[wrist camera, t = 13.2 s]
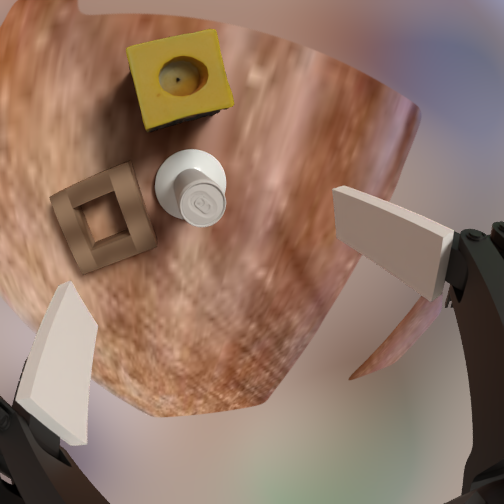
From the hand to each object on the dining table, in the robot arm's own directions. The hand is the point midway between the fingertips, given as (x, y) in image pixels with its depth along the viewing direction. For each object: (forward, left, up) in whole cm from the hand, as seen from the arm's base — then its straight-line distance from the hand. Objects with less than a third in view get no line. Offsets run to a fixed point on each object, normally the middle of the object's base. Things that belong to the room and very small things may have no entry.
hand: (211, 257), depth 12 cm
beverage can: (+2, +2, -27) cm, 27 cm away
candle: (-12, +3, -28) cm, 30 cm away
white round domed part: (+2, +2, -27) cm, 28 cm away
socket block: (+2, -11, -27) cm, 30 cm away
